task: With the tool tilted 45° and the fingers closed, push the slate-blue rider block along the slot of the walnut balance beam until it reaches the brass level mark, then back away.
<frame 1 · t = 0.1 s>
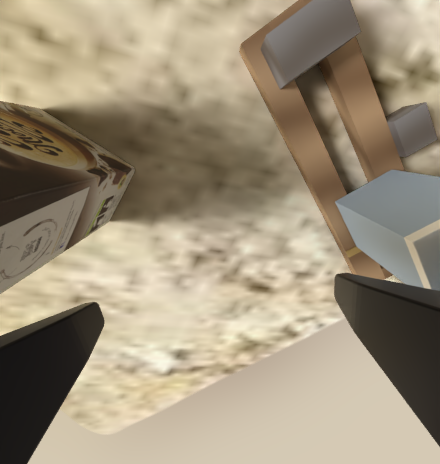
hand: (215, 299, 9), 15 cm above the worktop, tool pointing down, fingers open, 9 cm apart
beam: (342, 162, 21), on the worktop
coffee box: (78, 168, 22), on the worktop
rider: (402, 223, 18), point 6 cm above the worktop, slide at 0.0 cm
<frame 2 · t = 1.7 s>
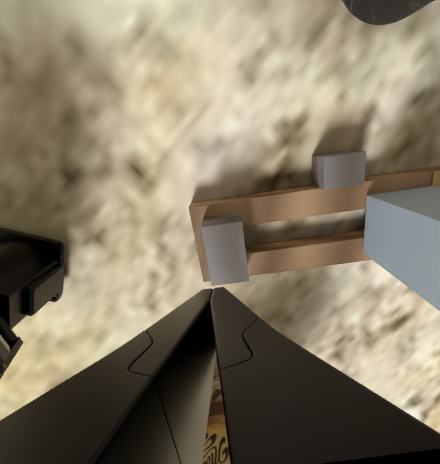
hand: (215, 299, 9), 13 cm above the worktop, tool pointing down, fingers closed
beam: (329, 221, 22), on the worktop
coffee box: (225, 392, 29), on the worktop
rider: (433, 237, 16), point 6 cm above the worktop, slide at 0.0 cm
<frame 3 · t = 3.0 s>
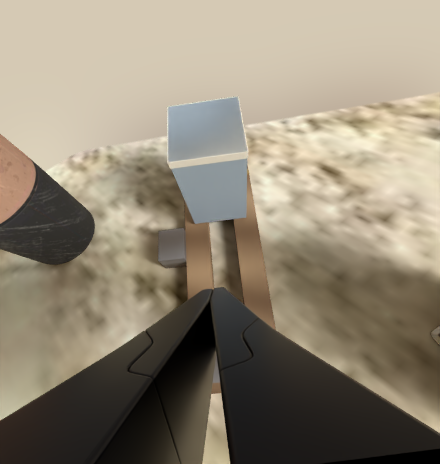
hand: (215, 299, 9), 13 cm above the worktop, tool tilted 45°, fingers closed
beam: (223, 247, 24), on the worktop
rider: (214, 176, 21), point 6 cm above the worktop, slide at 0.0 cm
travel mug: (65, 234, 27), on the worktop
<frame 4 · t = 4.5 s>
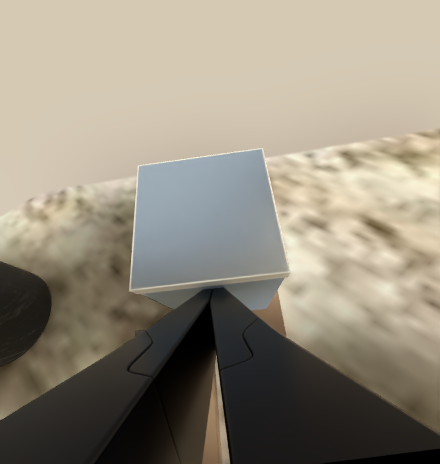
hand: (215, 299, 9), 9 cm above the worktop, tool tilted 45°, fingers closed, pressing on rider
beam: (232, 347, 17), on the worktop
rider: (218, 258, 13), point 6 cm above the worktop, slide at 0.0 cm, touching gripper
travel mug: (10, 316, 19), on the worktop
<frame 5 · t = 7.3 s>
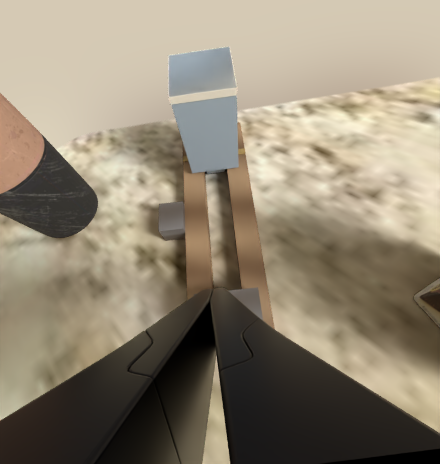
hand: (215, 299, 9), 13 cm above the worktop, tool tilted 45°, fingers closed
beam: (220, 221, 25), on the worktop
rider: (209, 126, 24), point 6 cm above the worktop, slide at 3.2 cm
travel mug: (69, 210, 28), on the worktop
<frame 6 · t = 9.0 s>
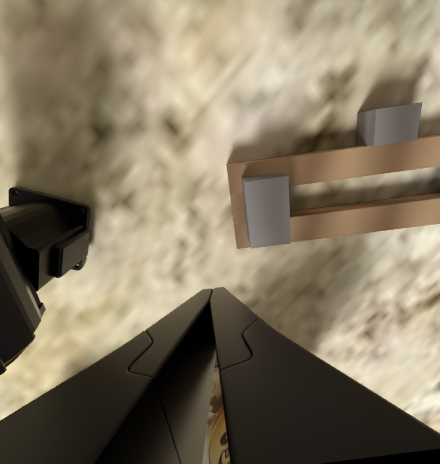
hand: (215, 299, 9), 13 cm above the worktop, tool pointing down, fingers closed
beam: (371, 186, 21), on the worktop
coffee box: (249, 372, 28), on the worktop
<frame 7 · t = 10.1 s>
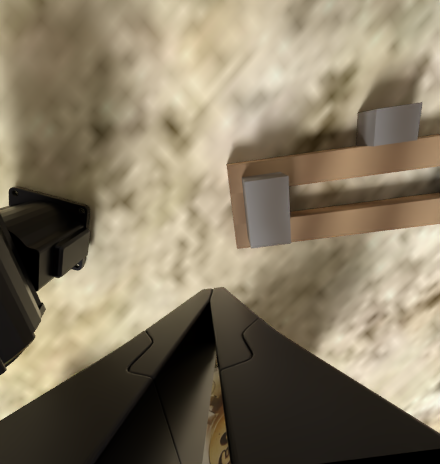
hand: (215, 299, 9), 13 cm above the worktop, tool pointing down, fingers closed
beam: (371, 186, 21), on the worktop
coffee box: (249, 372, 28), on the worktop
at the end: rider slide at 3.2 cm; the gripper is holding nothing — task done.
